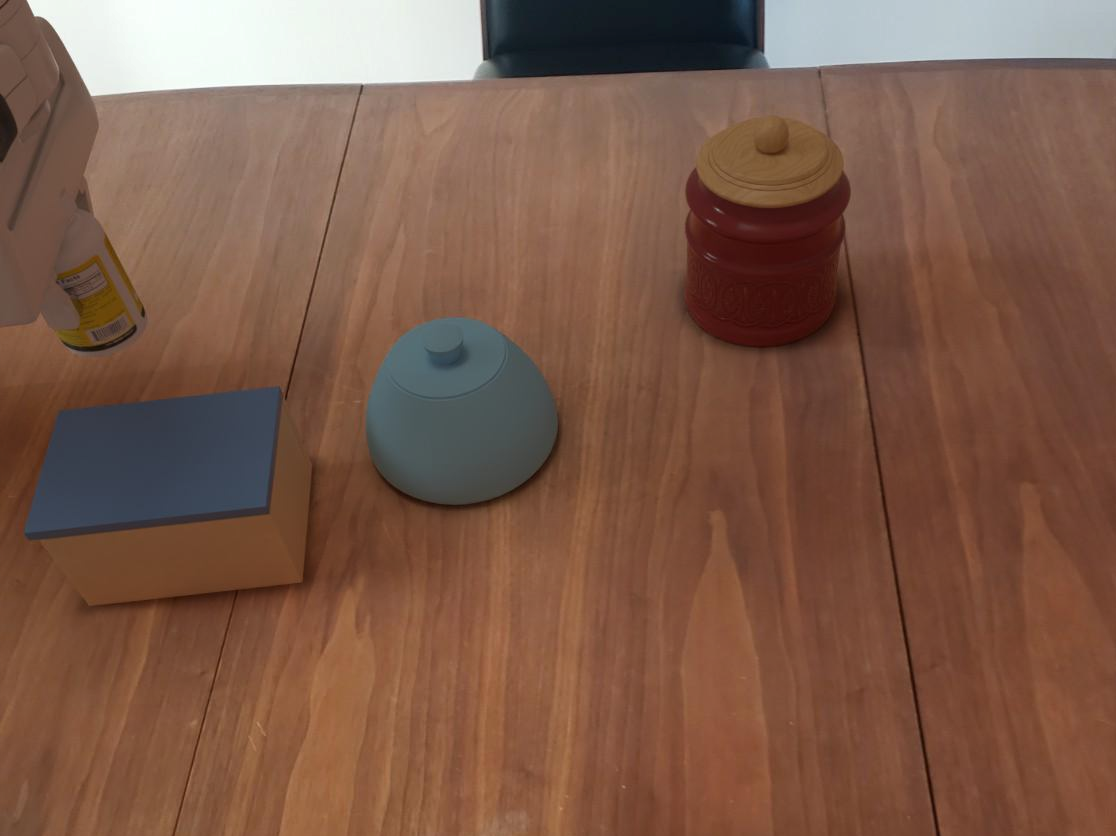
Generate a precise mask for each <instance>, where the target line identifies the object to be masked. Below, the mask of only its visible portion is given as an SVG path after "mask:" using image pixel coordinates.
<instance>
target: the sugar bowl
mask: <svg viewBox="0 0 1116 836" xmlns="http://www.w3.org/2000/svg"><path fill="white" fill-rule="evenodd" d="M556 405H557V404H556V402H555V399H554V396H553V393H552V391H551V388H550V386H549V384H548V382H547V380H546V378H545V377H544V374H543V373H542V371H541V370H540V369H539V367H538V365H537V364H536V363H535V362H534V361H533V359H532V358H531V357H530V356H529V355H528V353H526V352H525V351H524V350H523V349H522V348H521V347H520V346H518V344H517V343H516V342H514V341H513V340H511V338H509V337H508V336H506V335H505V333H502V331H500V330H498V329H497V328H495V327H494V326H492V325H490V324H488V323H486V322H484V321H481V320H478V319H473V318H468V317H459V316H457V317H456V316H453V317H441V318H436V319H432V320H429V321H426V322H424V323H421V324H418V325H417V326H415V327H413V328H411V329H410V330H408V331H407V332H405V333H404V334H403V335H402V336H400V337H399V339H398V340H396V342H395V343H394V344H393V345H392V346H391V348H390V350H389V351H388V352H387V354H386V356H385V357H384V359H383V361H382V363H381V365H380V367H379V369H378V371H377V373H376V376H375V378H374V381H373V383H372V386H371V388H370V391H369V394H368V400H367V405H366V412H365V434H366V435H365V436H366V443H367V447H368V451H369V454H370V457H371V460H372V463H373V465H374V467H375V468H376V470H377V471H378V473H379V474H380V475H381V476H382V477H383V479H385V480H386V481H387V482H388V483H389V484H390V485H392V486H393V487H394V488H395V489H397V490H398V491H399V492H402V493H404V494H405V495H407V496H410V497H412V498H415V499H417V500H421V501H424V502H429V503H431V504H438V505H449V506H462V505H471V504H472V505H473V504H479V503H482V502H486V501H490V500H493V499H495V498H499V497H501V496H503V495H506V494H507V493H509V492H512V491H514V490H515V489H516V488H519V487H520V486H521V485H522V484H524V483H525V482H527V481H528V480H529V479H531V477H532V476H533V475H535V474H536V473H537V471H539V469H540V468H541V467H542V466H543V465H544V463H545V462H546V461H547V459H548V458H549V456H550V454H551V452H552V450H553V447H554V444H555V442H556V439H557V436H558V430H559V418H558V417H559V416H558V411H557V407H556Z"/></svg>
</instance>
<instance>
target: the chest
mask: <svg viewBox="0 0 1116 836" xmlns="http://www.w3.org/2000/svg"><path fill="white" fill-rule="evenodd" d="M312 473H313V464H312V462H311V460H310V457H309V454H308V452H307V449H306V447H305V445H304V443H303V440H302V437H301V435H300V432H299V429H298V426H297V425H296V421H295V420H294V418H293V415H292V413H291V410H290V408H289V405H288V402H287V400H286V398H285V395H284V394H283V398H282V407H281V416H280V425H279V434H278V443H277V452H276V461H275V469H274V478H273V487H272V496H271V505H270V513H269V514H263V515H254V516H245V517H236V518H227V519H218V520H209V521H200V522H191V523H182V524H173V525H164V526H155V527H146V528H137V529H128V530H119V531H110V532H101V533H92V534H83V535H74V536H65V537H56V538H47V539H38V541H39V543H40V544H41V546H43V548H44V549H45V551H47V553H48V554H49V556H50V557H51V558H52V559H53V561H54V562H55V563H56V565H57V566H58V567H59V568H60V570H61V571H62V572H63V573H64V575H65V576H66V578H67V579H68V580H69V581H70V583H71V584H72V585H73V587H74V588H75V589H76V591H77V592H78V594H79V595H80V596H81V597H82V598H83V600H84V601H85V602H86V604H87V605H88V606H89V607H94V606H102V605H112V604H120V603H129V602H139V601H140V602H141V601H148V600H157V599H165V598H166V599H167V598H175V597H185V596H193V595H201V594H209V593H210V594H212V593H218V592H219V593H221V592H228V591H236V590H247V589H256V588H264V587H265V588H266V587H273V586H282V585H291V584H292V585H293V584H301V583H303V579H304V571H305V570H304V569H305V568H304V567H305V558H306V557H305V555H306V546H307V532H308V523H309V522H308V520H309V511H310V510H309V509H310V496H311V486H312Z"/></svg>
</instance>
